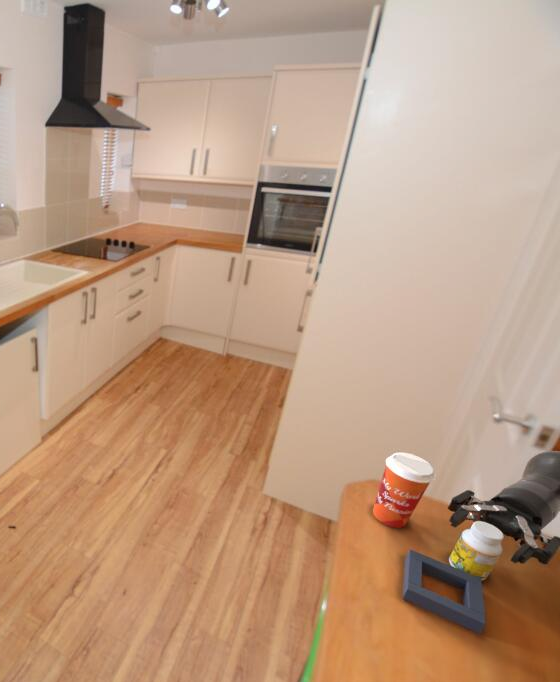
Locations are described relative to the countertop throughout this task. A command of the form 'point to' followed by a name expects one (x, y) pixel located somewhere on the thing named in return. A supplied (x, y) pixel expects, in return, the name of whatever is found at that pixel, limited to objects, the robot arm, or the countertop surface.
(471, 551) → the supplement bottle
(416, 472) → the paper cup
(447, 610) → the bottle holder
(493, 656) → the countertop surface
